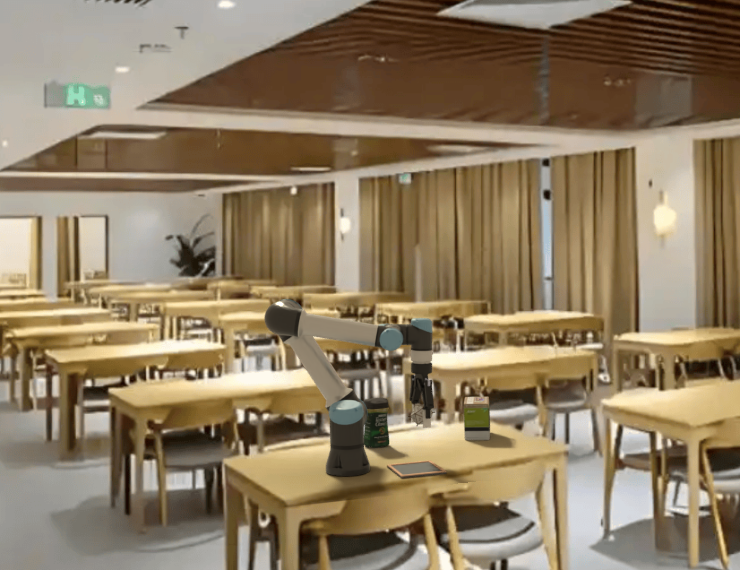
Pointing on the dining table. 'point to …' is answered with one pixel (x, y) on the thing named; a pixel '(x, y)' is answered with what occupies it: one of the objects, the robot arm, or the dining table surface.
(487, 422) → the tea box
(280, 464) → the dining table surface
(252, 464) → the dining table surface
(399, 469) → the mat
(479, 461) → the dining table surface
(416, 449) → the dining table surface
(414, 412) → the game die
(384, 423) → the coffee jar
